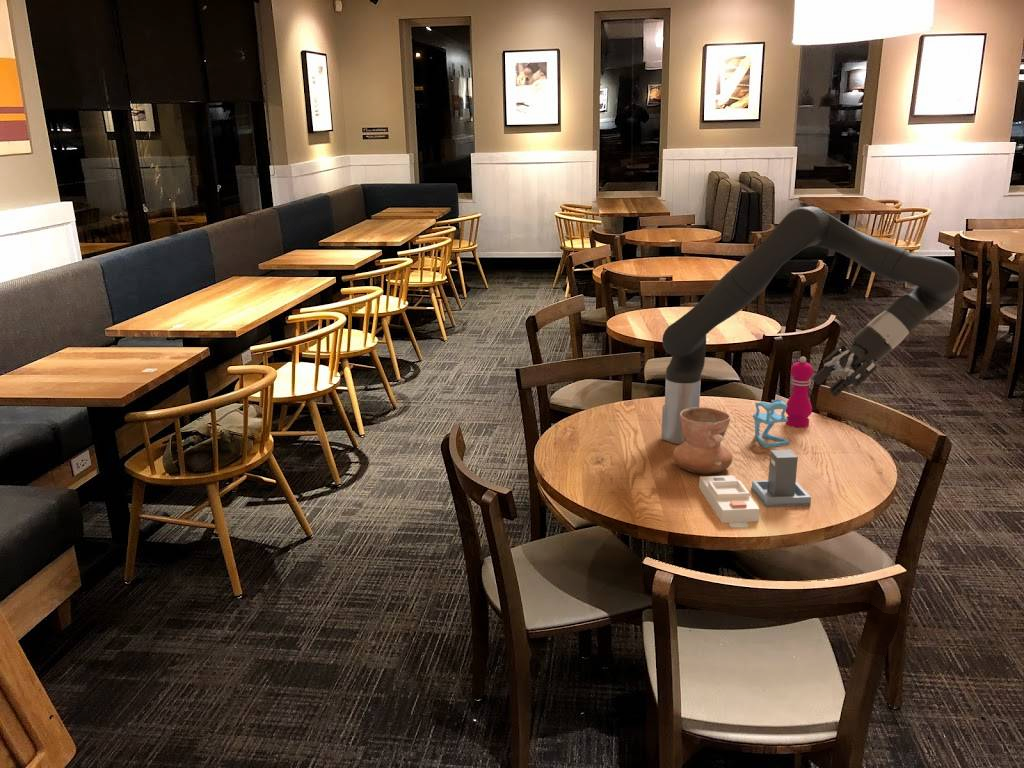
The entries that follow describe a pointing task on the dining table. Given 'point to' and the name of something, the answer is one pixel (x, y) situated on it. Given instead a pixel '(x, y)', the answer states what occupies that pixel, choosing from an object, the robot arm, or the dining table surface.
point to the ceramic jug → (703, 441)
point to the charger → (782, 473)
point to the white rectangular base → (729, 499)
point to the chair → (770, 421)
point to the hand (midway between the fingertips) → (823, 387)
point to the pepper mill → (799, 395)
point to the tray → (797, 500)
